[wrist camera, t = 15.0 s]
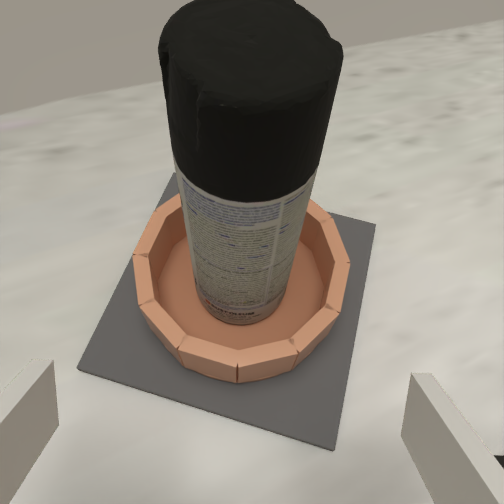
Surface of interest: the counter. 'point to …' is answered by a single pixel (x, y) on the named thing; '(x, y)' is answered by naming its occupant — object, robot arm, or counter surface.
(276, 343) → the bowl
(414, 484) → the counter surface
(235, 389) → the mat
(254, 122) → the spray can
